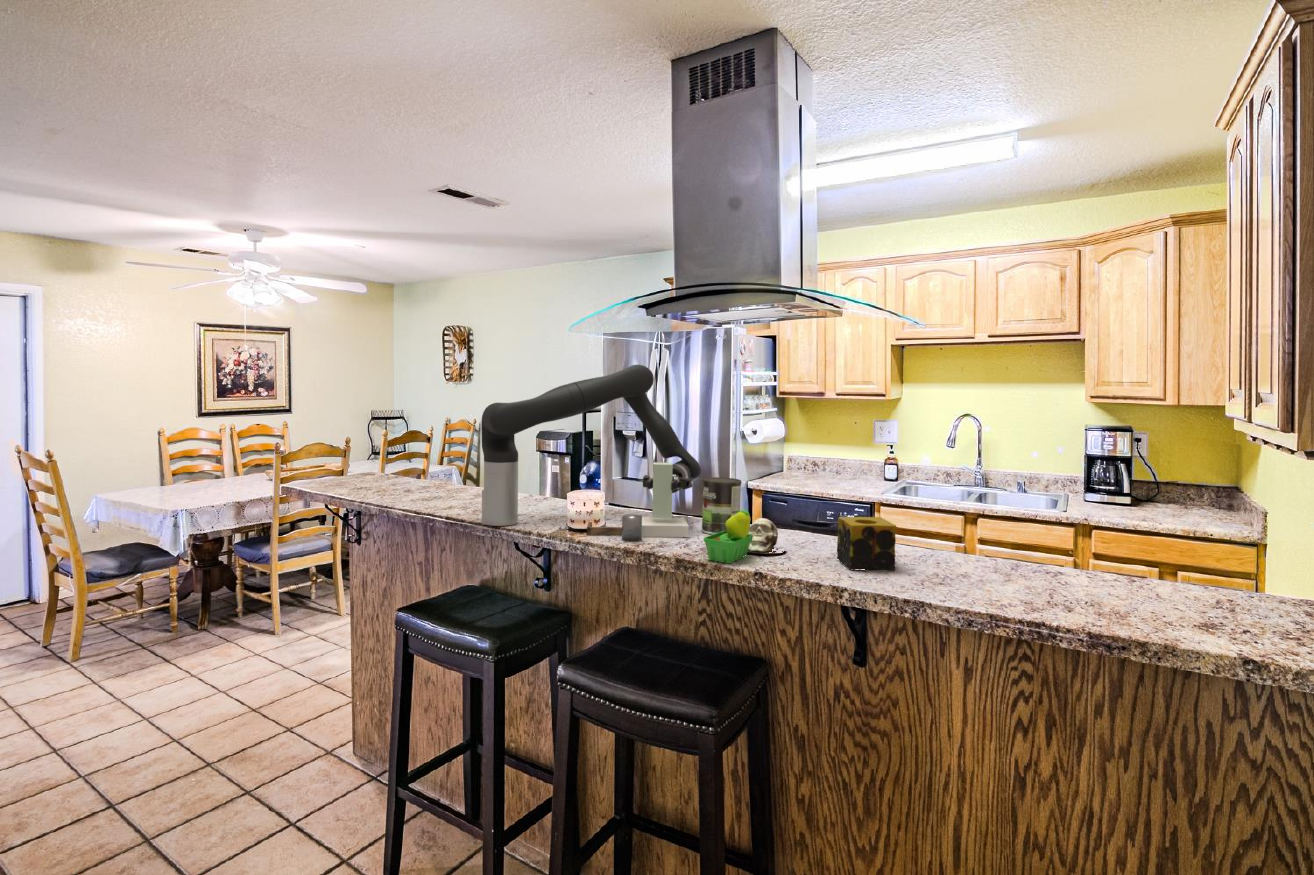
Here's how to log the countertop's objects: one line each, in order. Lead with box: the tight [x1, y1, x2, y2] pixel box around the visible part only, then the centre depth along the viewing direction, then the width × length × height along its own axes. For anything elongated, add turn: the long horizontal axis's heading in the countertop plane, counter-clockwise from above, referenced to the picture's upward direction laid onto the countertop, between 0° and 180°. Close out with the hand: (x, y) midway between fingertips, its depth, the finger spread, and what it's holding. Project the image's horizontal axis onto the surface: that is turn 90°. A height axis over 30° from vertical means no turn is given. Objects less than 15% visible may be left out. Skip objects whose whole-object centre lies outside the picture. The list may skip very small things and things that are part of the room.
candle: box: [836, 516, 897, 571], centre depth 151 cm, size 10×10×10 cm
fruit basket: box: [703, 509, 753, 564], centre depth 154 cm, size 11×9×11 cm
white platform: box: [642, 516, 690, 538], centre depth 182 cm, size 13×12×3 cm
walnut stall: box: [586, 521, 622, 537], centre depth 182 cm, size 11×10×2 cm
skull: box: [747, 517, 788, 555], centre depth 163 cm, size 12×10×10 cm
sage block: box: [651, 461, 674, 518], centre depth 181 cm, size 5×5×14 cm
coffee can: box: [701, 477, 742, 535], centre depth 184 cm, size 10×10×14 cm
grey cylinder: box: [621, 513, 643, 543], centre depth 172 cm, size 5×5×6 cm
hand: (660, 485), depth 179 cm, fingers closed on sage block, 5 cm apart
